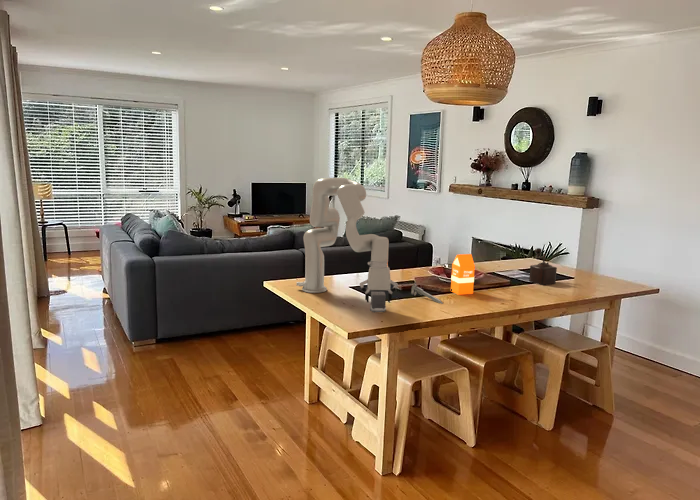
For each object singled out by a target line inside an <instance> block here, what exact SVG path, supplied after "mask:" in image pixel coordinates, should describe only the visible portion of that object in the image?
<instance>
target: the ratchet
mask: <svg viewBox="0 0 700 500" xmlns="http://www.w3.org/2000/svg"><path fill="white" fill-rule="evenodd" d="M369 310H370V312H371V311H372V312H371V313H375V312H383V313H385V312H387V311H386V310H387V306H386V305H385V308H372V307H371V305H370V309H369Z"/></svg>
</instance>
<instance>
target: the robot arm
mask: <svg viewBox="0 0 700 500" xmlns="http://www.w3.org/2000/svg"><path fill="white" fill-rule="evenodd" d="M330 196H337V197H338V200H339V202H340V204H341V207H342V209H343V212H344V214H345V216H346V218H347V219H346V223H345V236H346V239H347V241H348V244H349V246H350V248H351V249H352V250H353V251H354V252H355V253H364V252H371V256H370V261H368V262H367V265H368V266H369V269H368V274H367V279H366V280H363V281H362V282H359V287H360V288H361V290H362V291H363V293H365V296H364V299H365V301H366V303H369V302H370V294H369V293H370V292H371V291H388V292H387V303H389V304H390V303H391V301H392V296H393V293H394V292H395V291H396V290H397V288H398V287H399V284H398V283H397V282H395V281H393V280H392V278H391V269H390V266H389V243H390V242H389V238H388V237H386V236H379V235H377V234H374V233H369V234H359V231H358V228H357V221H358V220H359V219H362V218H363V217H364V215H365V209H364V207H363V205H362V203H361V202H363V201H365V199H366V197H367V191H366V189H365V186H363V184H361V183H360V182H356V181H354V180H352V179H350V178H346V177H323V178H319V179H317V180H316V181H315V182H314V183H313V186H312V200H311V201H312V202H311V207H310V208H311V209H310V214H309V223H310V225H311V226H312V227H314V228H312V229H308V230H307V231H305V232H304V233H303V246H304V254H305V257H304V259H305V264H304V265H305V268H304V269H305V272H304V273H305V276H304V278H305V279H304V281H296V284H295V285H296V286H298V287H302V288H301V290H302V291H303V292H305V293H309V294H310V293H311V294H320V293H325V292H326V291H327V290H328V288H327V286H325V254H324V252H323V250H322V248H323V247H330V246H333V245H334V244H335V243H336V241H337V237H338V231H339V226H340V222H341V221H340V218H341V217H340V213H339V211H338V210H337V209H336V208H335V207H330V204H331V203H330V198H329V197H330ZM365 285H367V287H366V288H365V287H364V286H365ZM391 285H392V286H393V287H392V288H391Z"/></svg>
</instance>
